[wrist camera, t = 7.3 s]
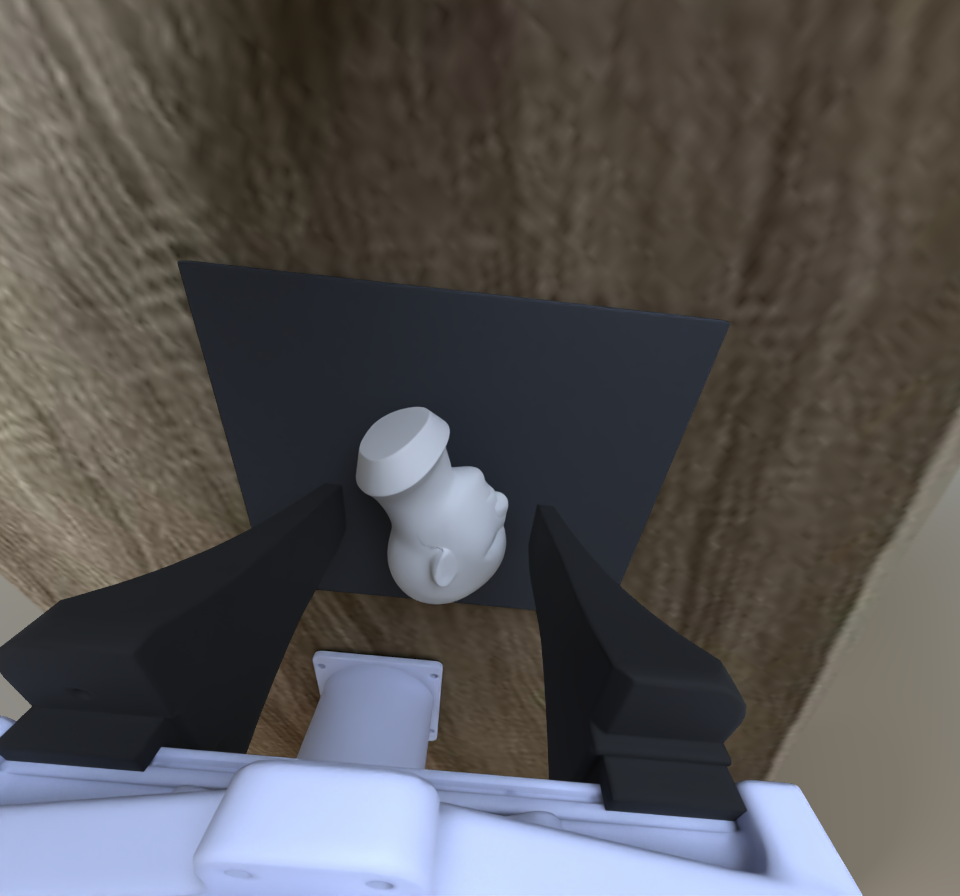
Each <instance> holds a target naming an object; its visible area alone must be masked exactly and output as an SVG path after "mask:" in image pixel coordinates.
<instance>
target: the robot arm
mask: <svg viewBox="0 0 960 896" xmlns="http://www.w3.org/2000/svg"><path fill="white" fill-rule="evenodd" d="M346 529H347V526H346V517H345V508H344V499H343V490H342V485H338V484H328V483H325V484H323V485H321V486H320V487H318V488H316V489H315V490H313V491H312V492H310V493H309V494H307V495H305V496H304V497H302V498H301V499H299V500H298V501H296V502H294V503H293V504H291V505H290V506H288V507H287V508H285V509H283V510H282V511H280V512H279V513H277V514H275V515H274V516H272V517H270V518H268V519H267V520H265V521H263V522H261V523H260V524H258V525H256V526H254V527H253V528H251V529H249V530H247V531H245V532H244V533H242V534H240V535H238V536H236V537H234V538H232V539H230V540H228V541H226V542H224V543H222V544H219V545H217V546H215V547H213V548H211V549H209V550H206V551H204V552H202V553H199V554H197V555H194V556H192V557H190V558H187V559H185V560H182V561H180V562H178V563H175V564H173V565H170V566H167V567H165V568H162V569H159V570H157V571H154V572H151V573H148V574H145V575H142V576H139V577H137V578H134V579H131V580H128V581H125V582H121V583H118V584H115V585H112V586H109V587H105V588H102V589H98V590H95V591H92V592H88V593H85V594H81V595H78V596H75V597H71V598H67V599H64V600H60V601H59V602H58V603H57V604H55V605H54V606H53V607H51V608H50V609H49V610H48V611H46V612H45V613H44V614H42V615H41V616H40V617H39V618H37V619H36V620H35V621H33V622H32V623H31V624H30V625H28V626H27V627H26V628H24V629H23V630H22V631H21V632H19V633H18V634H17V635H15V636H14V637H13V638H12V639H11V640H9V641H8V642H6V643H5V644H4V645H3V646H1V647H0V673H1V674H2V675H3V677H4V678H5V679H6V680H7V681H8V682H9V683H10V684H11V685H12V686H13V687H14V688H15V689H16V690H17V691H18V692H19V693H20V694H21V695H22V696H23V697H24V698H25V699H26V700H27V701H28V702H29V703H30V704H31V705H32V707H31V708H30V709H29V710H28V711H27V712H26V713H25V714H24V715H23V716H22V717H21V718H20V719H19V720H18V721H17V722H16V721H15V720H13V719H10V718H7V717H4V716H0V896H863V895H862V893H861V892H860V890H859V888H858V887H857V885H856V883H855V881H854V880H853V878H852V876H851V875H850V873H849V872H848V870H847V868H846V866H845V865H844V863H843V861H842V859H841V858H840V856H839V854H838V853H837V851H836V849H835V848H834V846H833V844H832V843H831V841H830V839H829V837H828V836H827V834H826V832H825V830H824V829H823V827H822V825H821V824H820V822H819V820H818V819H817V817H816V815H815V813H814V812H813V810H812V809H811V807H810V805H809V804H808V802H807V800H806V798H805V797H804V795H803V793H802V792H801V790H800V788H799V787H798V786H796V785H795V784H792V783H781V782H769V781H757V780H744V781H740V782H737V783H734V781H733V779H732V777H731V775H730V773H729V770H728V768H727V766H730V765H731V758H730V756H729V754H728V752H727V750H726V748H725V746H724V744H723V743H724V742H725V740H726V739H727V738H728V737H729V736H730V735H731V734H732V733H733V732H734V731H735V730H736V728H737V727H738V726H739V725H740V724H741V722H742V721H743V719H744V717H745V714H746V704H745V702H744V700H743V698H742V696H741V695H740V693H739V691H738V689H737V687H736V686H735V684H734V682H733V680H732V679H731V677H730V675H729V674H728V672H727V670H726V669H725V667H724V666H723V664H722V663H721V661H720V660H718V659H717V658H715V657H714V656H712V655H711V654H709V653H708V652H706V651H704V650H703V649H701V648H700V647H698V646H697V645H695V644H694V643H692V642H691V641H689V640H688V639H686V638H685V637H683V636H682V635H680V634H679V633H677V632H676V631H675V630H673V629H672V628H671V627H669V626H668V625H666V624H665V623H664V622H662V621H661V620H660V619H658V618H657V617H656V616H655V615H653V614H652V613H651V612H649V611H648V610H647V609H646V608H645V607H643V606H642V605H641V604H640V603H639V602H638V601H636V600H635V599H634V598H633V597H632V596H631V595H629V594H628V593H627V592H626V591H625V590H624V589H623V588H622V587H621V586H620V585H619V584H618V583H617V582H616V581H615V580H613V579H612V578H611V577H610V576H609V575H608V574H607V573H606V572H605V570H604V569H603V568H602V567H601V566H600V565H599V564H598V563H597V562H596V561H595V559H594V558H593V557H592V556H591V555H590V554H589V553H588V551H587V550H586V549H585V548H584V546H583V545H582V544H581V542H580V541H579V540H578V539H577V537H576V536H575V535H574V533H573V532H572V531H571V529H570V528H569V527H568V525H567V524H566V522H565V521H564V520H563V518H562V517H561V515H560V514H559V513H558V511H557V510H556V508H555V507H554V506H549V505H539V504H537V508H536V512H535V517H534V521H533V526H532V530H531V535H530V539H529V544H528V556H529V572H530V578H531V584H532V590H533V595H534V601H535V607H536V612H537V618H538V623H539V629H540V636H541V645H542V657H543V670H544V685H545V700H546V719H547V738H548V764H549V780H544V779H532V778H520V777H509V776H497V775H485V774H473V773H462V772H450V771H438V770H426V769H425V762H426V755H427V747H428V741H433V740H435V739H436V738H437V731H438V719H439V707H440V695H441V683H442V671H443V665H442V664H441V663H440V662H438V661H430V660H419V659H408V658H397V657H386V656H375V655H364V654H353V653H342V652H331V651H317V652H316V653H315V654H314V656H313V665H314V669H315V673H316V678H317V682H318V687H319V691H320V696H321V697H320V700H319V702H318V705H317V708H316V710H315V713H314V715H313V718H312V720H311V723H310V725H309V728H308V730H307V733H306V735H305V738H304V740H303V743H302V745H301V748H300V750H299V753H298V755H297V758H285V757H273V756H262V755H250V754H246V753H247V750H248V747H249V744H250V742H251V739H252V736H253V733H254V731H255V728H256V725H257V722H258V720H259V717H260V714H261V712H262V709H263V706H264V704H265V701H266V699H267V696H268V694H269V691H270V688H271V686H272V683H273V681H274V678H275V676H276V673H277V671H278V669H279V666H280V664H281V661H282V659H283V657H284V654H285V652H286V649H287V647H288V645H289V643H290V640H291V638H292V636H293V634H294V631H295V629H296V627H297V625H298V622H299V620H300V618H301V616H302V614H303V612H304V610H305V608H306V607H307V605H308V603H309V601H310V600H311V598H312V596H313V594H314V592H315V591H316V589H317V587H318V585H319V584H320V582H321V580H322V578H323V577H324V575H325V573H326V571H327V570H328V568H329V566H330V564H331V562H332V561H333V559H334V557H335V555H336V553H337V551H338V549H339V546H340V544H341V542H342V539H343V536H344V534H345V531H346Z"/></svg>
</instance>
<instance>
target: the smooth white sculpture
mask: <svg viewBox="0 0 960 896" xmlns="http://www.w3.org/2000/svg"><path fill="white" fill-rule="evenodd" d="M449 434H450V430H449V426H448V424H447V423H446V422H445V421H444V420H442V419H441V418H440V417H438V416H437V415H435V414H434V413H432V412H431V411H429V410H428V409H426V408H424V407H411V408H405V409H401V410H398V411H395V412H392V413H390V414H388V415H386V416H384V417H382V418H381V419H379V420H378V421H377V422H376V423H374V424H373V425H372V426H371V428H370V429H369V430H368V431H367V433H366V434H365V436H364V438H363V439H362V441H361V443H360V447H359V454H358V462H357V470H356V482H357V484H358V486H359V488H360V489H361V490H362V491H363V492H364V493H366V494H368V495H370V496H372V497H373V498H375V499H376V500H377V501H378V502H379V503H380V505H381V506H382V507H383V508H384V510H385V511H386V513H387V514H388V516H389V518H390V520H391V523H392V530H391V534H390V538H389V542H388V551H387V555H388V564H389V569H390V572H391V574H392V577H393V578H394V580H395V582H396V583H397V585H398V586H399V587H400V588H401V589H402V591H404V592H405V593H406V594H407V595H408V596H410V597H411V598H413V599H415V600H417V601H420V602H423V603H428V604H445V603H450V602H454V601H457V600H460V599H462V598H464V597H466V596H468V595H470V594H471V593H473V592H474V591H476V590H477V589H479V588H480V587H481V586H482V585H484V584H485V583H486V582H487V581H488V580H489V579H490V578H491V577H492V576H493V575H494V573H495V572H496V571H497V569H498V567H499V566H500V564H501V562H502V560H503V557H504V554H505V549H506V534H505V529H504V522H505V518H506V513H507V509H508V500H507V498H506V496H505V495H504V494H502V493H500V492H496V491H494V489H493V488H492V487H491V486H490V485H488V483H487V482H486V481H485V478H484V475H483V473H482V472H481V470H479V469H478V468H476V467H471V466H464V467H451V464H450V460H449V456H448V453H447V450H446V445H447V442H448V439H449Z"/></svg>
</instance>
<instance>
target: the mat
mask: <svg viewBox="0 0 960 896" xmlns="http://www.w3.org/2000/svg"><path fill="white" fill-rule="evenodd" d="M178 266H179V270H180V273H181V277H182V281H183V284H184V288H185V291H186V295H187V298H188V302H189V306H190V309H191V313H192V316H193V320H194V324H195V327H196V331H197V334H198V338H199V341H200V345H201V349H202V352H203V356H204V359H205V363H206V366H207V370H208V374H209V377H210V381H211V384H212V388H213V391H214V395H215V399H216V402H217V406H218V409H219V413H220V417H221V420H222V424H223V427H224V431H225V434H226V438H227V442H228V445H229V449H230V452H231V456H232V459H233V463H234V467H235V470H236V474H237V477H238V481H239V484H240V488H241V492H242V495H243V499H244V502H245V506H246V510H247V513H248V517H249V520H250V524H251V527H252V528H253V527H254V526H256V525H258V524H260V523H261V522H263V521H265V520H267V519H268V518H270V517H272V516H274V515H275V514H277V513H279V512H280V511H282V510H283V509H285V508H287V507H288V506H290V505H291V504H293V503H294V502H296V501H298V500H299V499H301V498H302V497H304V496H305V495H307V494H309V493H310V492H312V491H313V490H315V489H316V488H318V487H320V486H321V485H323V484H325V483H328V484H338V485H342V490H343V499H344V508H345V517H346V526H347V529H346V531H345V534H344V536H343V539H342V542H341V544H340V546H339V549H338V551H337V553H336V555H335V557H334V559H333V561H332V562H331V564H330V566H329V568H328V570H327V571H326V573H325V575H324V577H323V578H322V580H321V582H320V584H319V585H318V587H317V589H316V590H327V591H337V592H348V593H358V594H369V595H380V596H390V597H401V598H411V597H410V596H408V595H407V594H406V593H405V592H404V591H402V589H401V588H400V587H399V586H398V585H397V583H396V582H395V580H394V578H393V577H392V574H391V572H390V569H389V564H388V555H387V551H388V542H389V538H390V534H391V530H392V523H391V520H390V518H389V516H388V514H387V513H386V511H385V510H384V508H383V507H382V506H381V505H380V503H379V502H378V501H377V500H376V499H375V498H373V497H372V496H370V495H368V494H366V493H364V492H363V491H362V490H361V489H360V488H359V486H358V484H357V482H356V470H357V462H358V454H359V447H360V443H361V441H362V439H363V438H364V436H365V434H366V433H367V431H368V430H369V429H370V428H371V426H372V425H373V424H374V423H376V422H377V421H378V420H379V419H381V418H382V417H384V416H386V415H388V414H390V413H392V412H395V411H398V410H401V409H405V408H411V407H424V408H426V409H428V410H429V411H431V412H432V413H434V414H435V415H437V416H438V417H440V418H441V419H442V420H444V421H445V422H446V423H447V424H448V426H449V430H450V434H449V439H448V442H447V445H446V450H447V453H448V456H449V460H450V464H451V467H464V466H471V467H476V468H478V469H479V470H481V472H482V473H483V475H484V478H485V481H486V482H487V483H488V485H490V486H491V487H492V488H493V489H494V491H496V492H500V493H502V494H504V495H505V496H506V498H507V500H508V509H507V513H506V518H505V522H504V529H505V534H506V549H505V554H504V557H503V560H502V562H501V564H500V566H499V567H498V569H497V571H496V572H495V573H494V575H493V576H492V577H491V578H490V579H489V580H488V581H487V582H486V583H485V584H484V585H482V586H481V587H480V588H479V589H477V590H476V591H474V592H473V593H471V594H470V595H468V596H466V597H464V598H462V599H460V600H457V601H454V603H464V604H475V605H486V606H496V607H507V608H517V609H528V610H536V607H535V601H534V595H533V590H532V584H531V578H530V572H529V556H528V544H529V539H530V535H531V530H532V526H533V521H534V517H535V512H536V508H537V504H539V505H549V506H554V507H555V508H556V510H557V511H558V513H559V514H560V515H561V517H562V518H563V520H564V521H565V522H566V524H567V525H568V527H569V528H570V529H571V531H572V532H573V533H574V535H575V536H576V537H577V539H578V540H579V541H580V542H581V544H582V545H583V546H584V548H585V549H586V550H587V551H588V553H589V554H590V555H591V556H592V557H593V558H594V559H595V561H596V562H597V563H598V564H599V565H600V566H601V567H602V568H603V569H604V570H605V572H606V573H607V574H608V575H609V576H610V577H611V578H612V579H613V580H615V581H616V582H617V583H618V584H619V585H620V584H621V581H622V579H623V576H624V574H625V572H626V569H627V567H628V565H629V562H630V560H631V557H632V555H633V553H634V550H635V548H636V546H637V543H638V541H639V539H640V536H641V534H642V531H643V529H644V527H645V524H646V522H647V520H648V517H649V515H650V512H651V510H652V508H653V505H654V503H655V501H656V498H657V496H658V494H659V491H660V489H661V486H662V484H663V482H664V479H665V477H666V475H667V472H668V470H669V467H670V465H671V463H672V460H673V458H674V456H675V453H676V451H677V449H678V446H679V444H680V441H681V439H682V437H683V434H684V432H685V430H686V427H687V425H688V422H689V420H690V418H691V415H692V413H693V411H694V408H695V406H696V403H697V401H698V399H699V396H700V394H701V392H702V389H703V387H704V385H705V382H706V380H707V377H708V375H709V373H710V370H711V368H712V366H713V363H714V361H715V358H716V356H717V354H718V351H719V349H720V347H721V344H722V342H723V340H724V337H725V335H726V332H727V330H728V328H729V325H730V322H728V321H724V320H719V319H710V318H701V317H692V316H683V315H674V314H665V313H656V312H647V311H638V310H629V309H620V308H611V307H602V306H593V305H584V304H575V303H566V302H557V301H548V300H539V299H530V298H521V297H512V296H503V295H494V294H485V293H476V292H467V291H458V290H449V289H440V288H431V287H422V286H413V285H404V284H395V283H386V282H377V281H368V280H359V279H350V278H341V277H332V276H323V275H314V274H305V273H296V272H287V271H278V270H269V269H260V268H251V267H242V266H233V265H224V264H215V263H206V262H198V261H178ZM411 599H413V598H411Z"/></svg>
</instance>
